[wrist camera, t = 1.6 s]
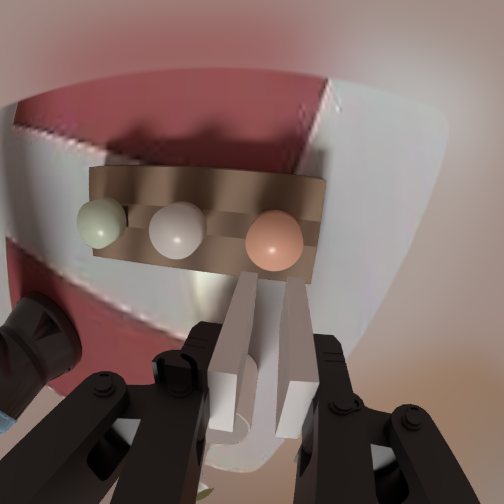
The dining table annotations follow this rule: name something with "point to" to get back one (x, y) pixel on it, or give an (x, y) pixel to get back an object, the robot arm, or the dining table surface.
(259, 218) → the orange egg
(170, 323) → the dining table surface
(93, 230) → the sage egg
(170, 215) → the grey egg
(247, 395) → the mug
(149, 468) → the robot arm
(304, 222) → the cardboard egg tray
